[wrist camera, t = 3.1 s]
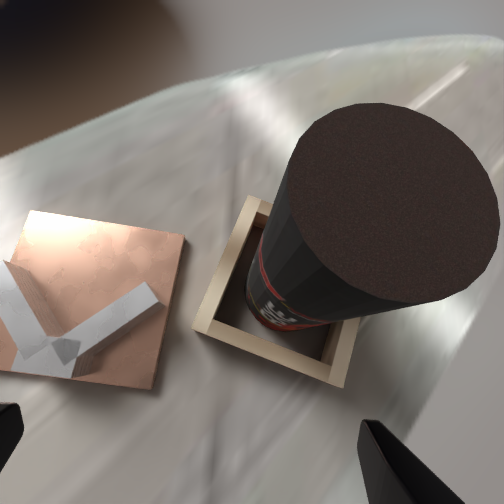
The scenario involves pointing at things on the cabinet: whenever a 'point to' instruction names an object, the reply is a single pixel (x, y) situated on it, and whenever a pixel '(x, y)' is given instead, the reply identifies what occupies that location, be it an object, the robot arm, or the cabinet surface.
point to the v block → (87, 300)
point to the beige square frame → (325, 370)
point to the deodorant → (372, 220)
